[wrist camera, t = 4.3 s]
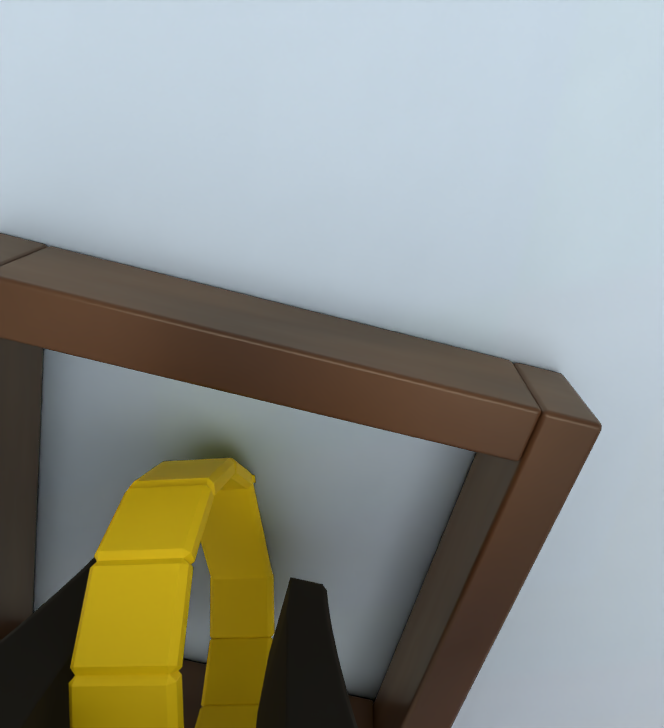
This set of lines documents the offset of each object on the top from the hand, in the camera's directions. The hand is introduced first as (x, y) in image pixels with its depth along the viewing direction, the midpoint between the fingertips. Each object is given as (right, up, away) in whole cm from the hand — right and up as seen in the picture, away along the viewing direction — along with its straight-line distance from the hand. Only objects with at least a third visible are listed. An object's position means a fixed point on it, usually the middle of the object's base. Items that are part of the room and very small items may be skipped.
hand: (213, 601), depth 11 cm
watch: (0, +1, +2) cm, 2 cm away
